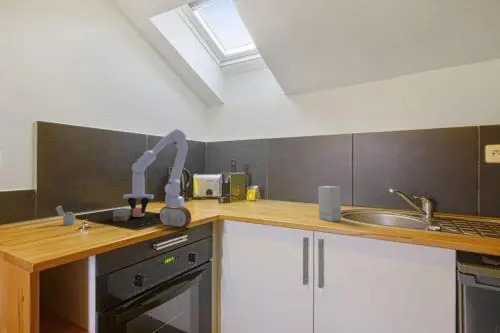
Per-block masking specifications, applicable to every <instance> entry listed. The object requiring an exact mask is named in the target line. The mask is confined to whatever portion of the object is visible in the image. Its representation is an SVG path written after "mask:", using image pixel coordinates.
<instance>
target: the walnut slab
mask: <svg viewBox="0 0 500 333" xmlns="http://www.w3.org/2000/svg"><path fill="white" fill-rule="evenodd" d="M130 218H131V214H130V215H128V216H124V217H118V216H113V217H112V222H127V221H128V220H130Z"/></svg>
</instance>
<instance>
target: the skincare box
mask: <svg viewBox="0 0 500 333" xmlns="http://www.w3.org/2000/svg"><path fill="white" fill-rule="evenodd" d="M317 190H318V191H317V195H318V197H317V198H318V220H321V219H322V221H327V222H331V223H334V222H338V221H340V222H341V221H342V209H341V208H342V206H341V186H337V185H336V186H333V185H324V186H317Z"/></svg>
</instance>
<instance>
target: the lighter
mask: <svg viewBox="0 0 500 333" xmlns="http://www.w3.org/2000/svg"><path fill="white" fill-rule="evenodd" d="M55 210H56V211H57V215H59V217H62V220H63V222H62V223H63V226H69V225H70V226H75V225H76V214H75V213H73V212H72V211H66V213H65V212H64V210H63V208H62V205H59V206H56V207H55Z"/></svg>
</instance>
